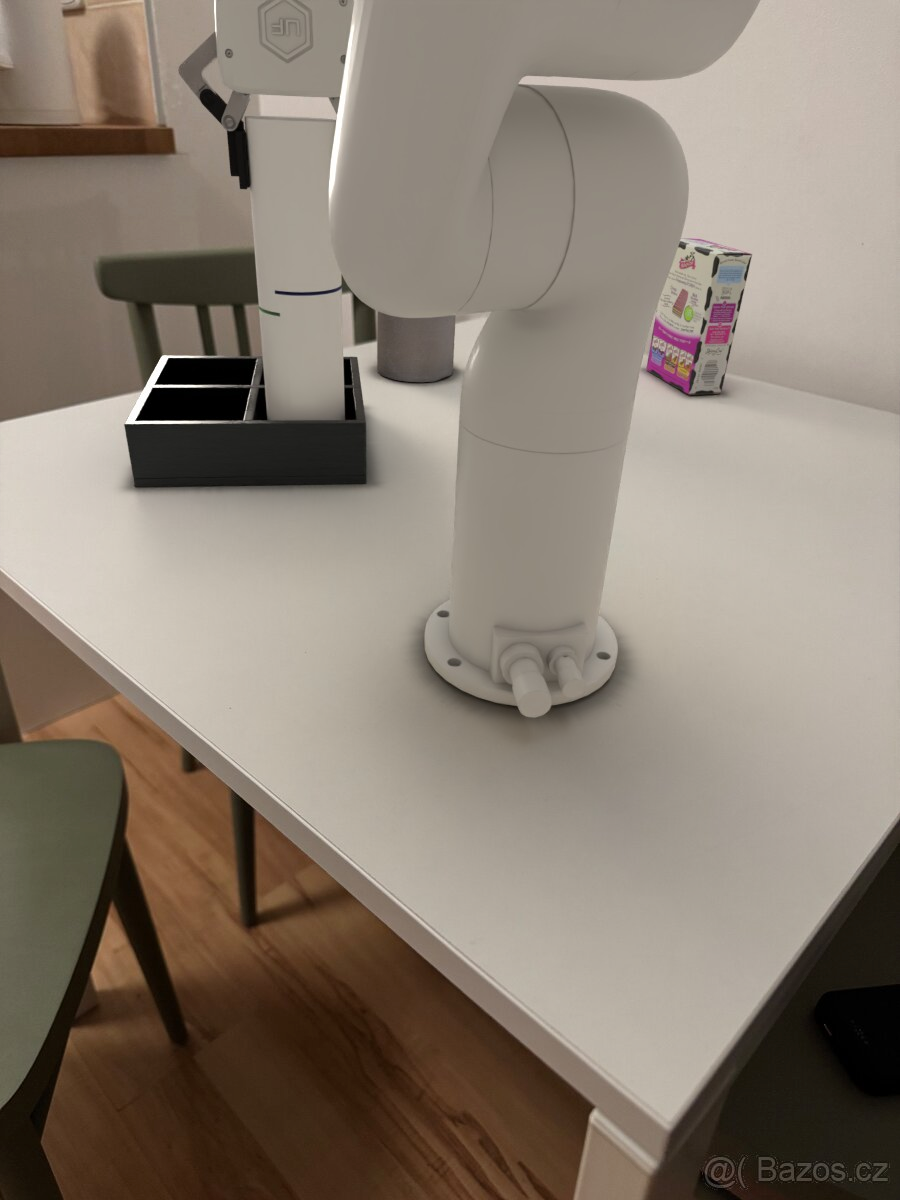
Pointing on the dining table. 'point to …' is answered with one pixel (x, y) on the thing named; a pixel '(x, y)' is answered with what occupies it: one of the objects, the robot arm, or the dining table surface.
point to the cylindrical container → (296, 266)
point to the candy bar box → (698, 316)
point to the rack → (237, 429)
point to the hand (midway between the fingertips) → (294, 187)
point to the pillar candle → (415, 347)
